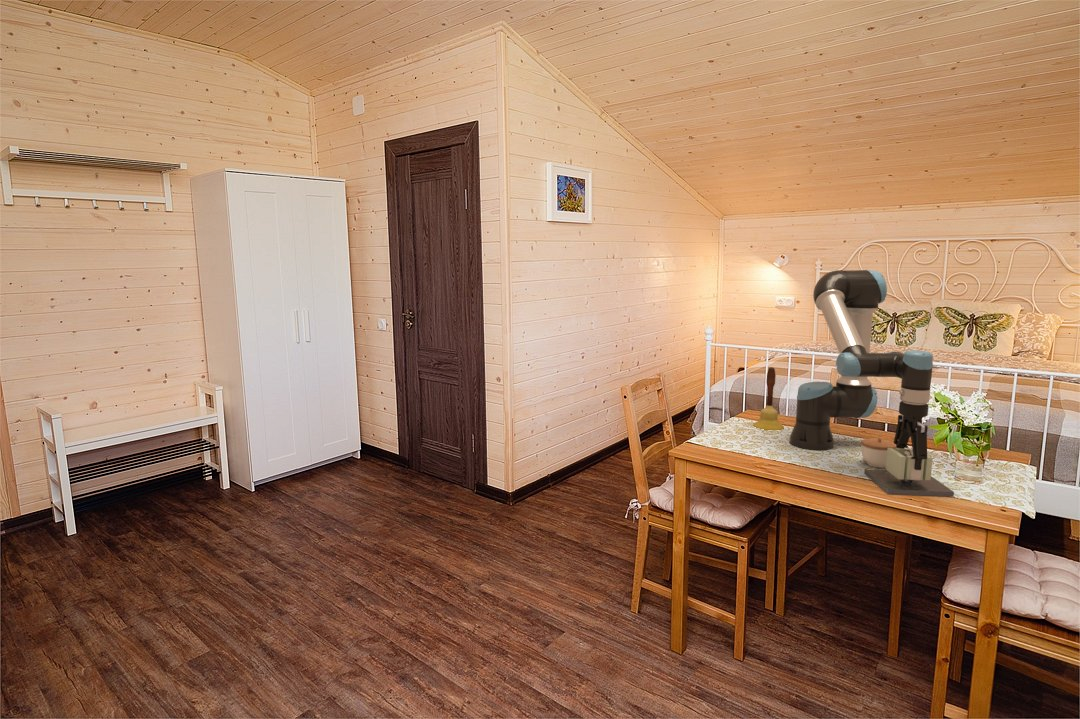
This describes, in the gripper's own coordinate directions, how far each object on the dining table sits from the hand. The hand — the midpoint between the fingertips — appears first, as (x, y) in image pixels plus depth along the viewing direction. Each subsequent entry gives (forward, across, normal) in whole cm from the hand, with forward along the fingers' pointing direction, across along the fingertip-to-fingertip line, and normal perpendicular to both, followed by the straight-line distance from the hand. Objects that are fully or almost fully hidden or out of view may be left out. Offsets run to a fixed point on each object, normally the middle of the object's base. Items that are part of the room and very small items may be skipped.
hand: (907, 474), depth 189 cm
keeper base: (+3, 0, 0) cm, 3 cm away
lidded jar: (+4, -19, -1) cm, 19 cm away
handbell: (+3, -65, -26) cm, 70 cm away
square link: (0, 0, 0) cm, 0 cm away
